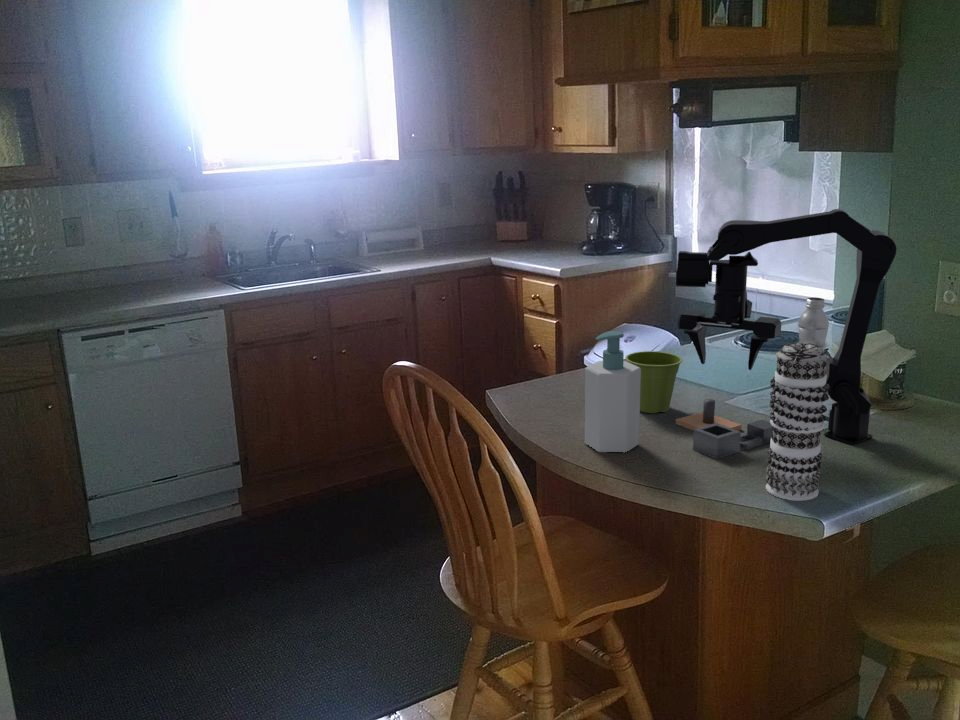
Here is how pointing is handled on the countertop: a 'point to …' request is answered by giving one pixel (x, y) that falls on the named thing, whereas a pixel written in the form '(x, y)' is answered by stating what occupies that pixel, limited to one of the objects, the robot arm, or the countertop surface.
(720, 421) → the tan board with knob
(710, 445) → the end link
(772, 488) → the decorative candle
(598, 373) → the soap bottle
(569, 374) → the countertop surface
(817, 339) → the plastic bottle
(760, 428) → the dark clasp block
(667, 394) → the plant pot
